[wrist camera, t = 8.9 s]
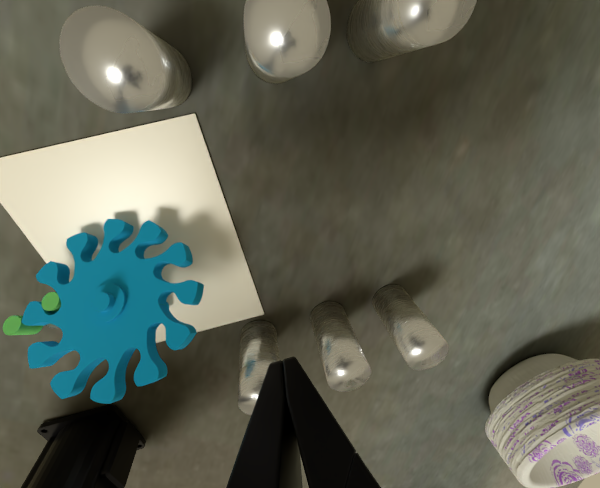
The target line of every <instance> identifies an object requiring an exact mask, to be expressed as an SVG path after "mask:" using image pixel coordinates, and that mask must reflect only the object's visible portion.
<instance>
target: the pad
mask: <svg viewBox="0 0 600 488" xmlns="http://www.w3.org/2000/svg"><path fill="white" fill-rule="evenodd" d="M0 203H1V204H2V205H3V207H4V208H5V209H6V211H7V212H8V213H9V214H10V216H11V217H12V218H13V220H14V221H15V222H16V224H17V225H18V226H19V228H20V229H21V230H22V232H23V233H24V234H25V236H26V237H27V238H28V240H29V241H30V242H31V243H32V245H33V246H34V247H35V249H36V250H37V251H38V253H39V254H40V255H41V257H42V258H43V259H44V261H45V262H46V263H48V262H50V261H53V262H57V263H62V264H66V265H67V266H68V267H69V269H70V277H69V282H70V281H71V280H72V279H73V276H74V269H75V262H74V258H73V255H72V253H71V252H70V250H69V249H68V248H67V246H66V241H67V239H68V238H69V237H71V236H73V235H76V234H78V233H83V232H85V233H88V234H91V235H93V236H96V237H97V239H98V246H97V248H96V250H95V252H94V253H93V255H92V261H93V260H94V259H95V257H96V256H97V254H98V253H99V251H100V249H101V247H102V244H103V241H104V229H103V228H104V224H105V222H106V221H107V219H119V220H122V221H124V222H126V223H128V224H130V225H132V226H133V227H134V230H133V233H132V235H131V236H130V237H129V238H128V239H126V240H125V241H123V242H122V243H121V244H120V246H119V252H121V251H122V250H124V249H125V248H126V247H128V246H129V245H130V244H131V243H132V242H133V241H134V240H135V238H136V237H137V235H138V233H139V231H140V228H141V226H142V225H143V223H145V222H146V221H148V220H150V221H152V222H153V223H155V224H157V225H158V226H160V227H162V228H163V229H164V230H165V231H166V232H167V234H168V238H167V239H166V241H165V242H163V243H162V244H159V245H152V246H149V247H148V248H147V249H146V250H145V252H144V258H145V259H146V258H152V257H156V256H158V255H160V254H162V253H164V252H165V251H166V250H167V249H168V248H169V247H170V246H171V245H173V244H174V243H177V242H182V243H184V244H185V245H187V246H189V248H190V251H191V253H192V258H193V263H192V264H191V265H190V266H188V267H185V268H182V267H179V266H176V265H173V264H168V265H166V266H165V267H164V268H163V270H162V273H161V275H162V278H163V279H164V280H165V281H167V282H170V283H180V282H184V281H187V280H194V281H197V282H200V283H202V284H203V285H204V289H203V295H202V299H201V301H200V303H199V304H198V305H188V304H183V303H181V302H180V301H179V300H178V298H177V296H176V295H175V293H174V292H173V293H171V294H170V295H169V296H168V297H167V300H166V302H168V304H169V310H170V312H171V314H172V315H173V316H174V317H175V318H176V319H177V320H179V321H180V322H183V323H186V324H190V325H192V326H193V327H194V328H195V329H196V332H199V331H203V330H207V329H211V328H214V327H218V326H222V325H226V324H230V323H233V322H237V321H241V320H245V319H248V318H252V317H256V316H260V315H263V314H264V311H263V309H262V306H261V303H260V300H259V297H258V294H257V291H256V288H255V285H254V283H253V280H252V277H251V274H250V271H249V268H248V265H247V262H246V259H245V256H244V254H243V251H242V248H241V245H240V242H239V239H238V236H237V233H236V230H235V228H234V225H233V222H232V219H231V216H230V213H229V210H228V207H227V204H226V201H225V199H224V196H223V193H222V190H221V187H220V184H219V181H218V178H217V175H216V173H215V170H214V167H213V164H212V161H211V158H210V155H209V152H208V149H207V146H206V144H205V141H204V138H203V135H202V132H201V129H200V126H199V123H198V120H197V118H196V115H195V113H194V114H190V115H186V116H181V117H177V118H172V119H168V120H164V121H159V122H155V123H150V124H146V125H142V126H137V127H133V128H128V129H124V130H120V131H115V132H111V133H106V134H102V135H98V136H93V137H89V138H84V139H80V140H76V141H71V142H67V143H62V144H58V145H54V146H49V147H45V148H40V149H36V150H32V151H27V152H23V153H18V154H14V155H10V156H5V157H1V158H0ZM162 341H166V329H165V326H164V325H163V324H160V325H159V326H158V328H157V330H156V343H158V342H162Z"/></svg>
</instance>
